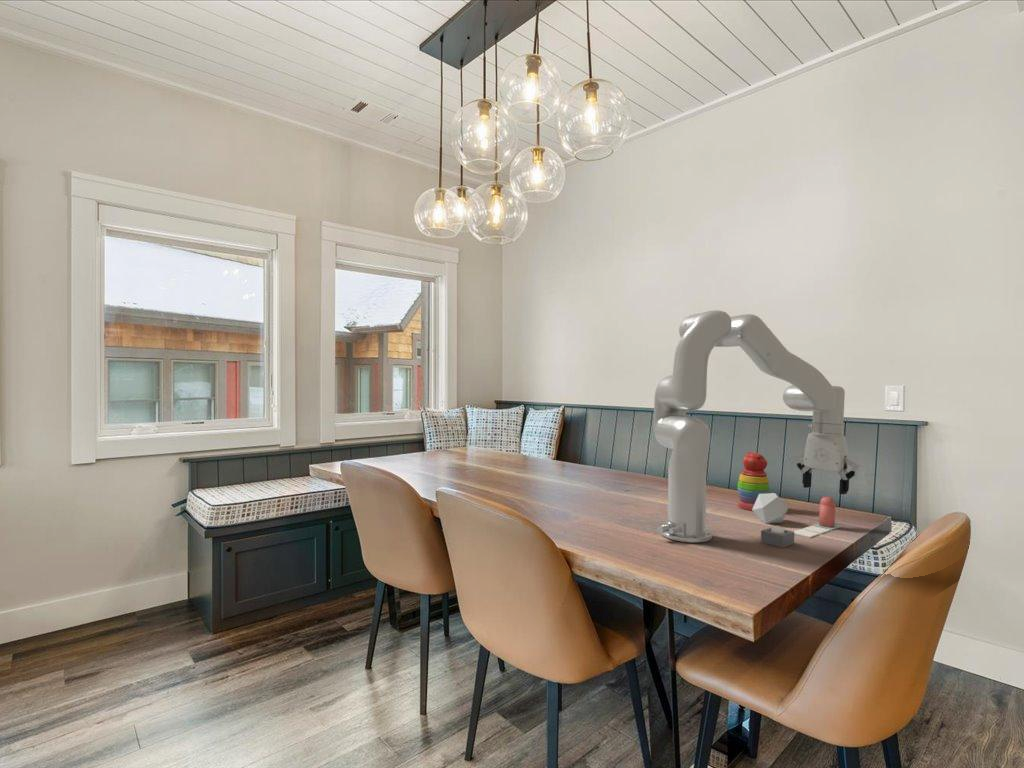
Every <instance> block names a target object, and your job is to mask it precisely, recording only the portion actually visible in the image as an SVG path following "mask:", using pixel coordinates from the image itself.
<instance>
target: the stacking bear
mask: <svg viewBox="0 0 1024 768" xmlns="http://www.w3.org/2000/svg"><path fill="white" fill-rule="evenodd" d="M742 462H743V463H742V464H743V467H744V469H743V470H742V471H741V473H740V474H739V478H738V482H737V493H738V498H739V501H738V503H737V506H738V508H740V509H742V510H746V511H752V509H753V506H754V504H755V502H756V500H757V497H758V495H759V494H765V493H770V483H769V477H768V476H767V472H766V471H765V469H766V467H767V466H768V461H767V460H766V459H765V457H764V456H763V455H762V454H761V453H759V452H752V451H747V452H746V454H745V456H744V457H743V460H742Z"/></svg>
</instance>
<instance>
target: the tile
mask: <svg viewBox="0 0 1024 768" xmlns="http://www.w3.org/2000/svg"><path fill="white" fill-rule="evenodd" d="M812 526H815V527H820V528H824V529H829V530H830V531H834V530H837V529H839V528H841V525H837V524H835V527H833V528H829V527H823V526H820V525H819V522H818V523H816V524H813V525H812Z"/></svg>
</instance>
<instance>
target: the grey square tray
mask: <svg viewBox="0 0 1024 768" xmlns="http://www.w3.org/2000/svg"><path fill="white" fill-rule="evenodd" d="M772 527H773V526H771V527H769V528H765V529H761V530H760V543H763V544H766V545H771V546H774V547H777V548H782V549H784V548H787V547H790V546H793V545H795V534H794V532H793V531H791V530H786V529H784V531H785V533H784V534H778V533H774V532H771V529H772Z"/></svg>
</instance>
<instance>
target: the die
mask: <svg viewBox="0 0 1024 768" xmlns="http://www.w3.org/2000/svg"><path fill="white" fill-rule="evenodd" d="M789 508H790V506H789V505H788V504H787V503H786V501H784V499H782V498H781V497H780V496H779V495H778V494H777V493H775V492H769V493H765V494H759V495H758V497H757V500H756V502H755V504H754V506H753V509H752V510H751V511H753V513H754V514H755V515H756V516H757V517H758V518H760V520H761V521H762V522H763V523H765V524H767V525H768V524H782V523H783V520H784V519H785V516H786V514H787V512H788V510H789Z"/></svg>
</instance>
